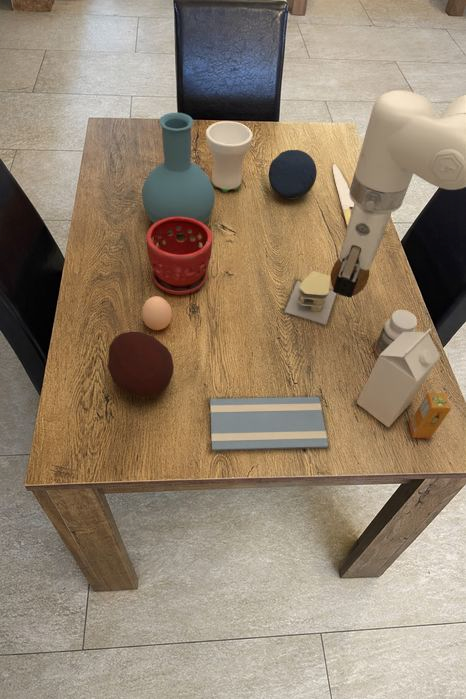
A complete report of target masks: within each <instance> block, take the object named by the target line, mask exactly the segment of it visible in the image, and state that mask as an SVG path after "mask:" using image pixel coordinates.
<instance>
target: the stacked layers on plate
mask: <svg viewBox="0 0 466 699" xmlns="http://www.w3.org/2000/svg"><path fill="white" fill-rule="evenodd" d="M330 286H331V277H330V275H329V274H325V273H322V272H319V271H315V270H312V271H311V272H310V273H309V274H308V275H307V276H306V277H305V278H304V279H303V280H302V281H300V280H297V281H296V283H295V285H294V288H293V290H292V292H291V295H290V298H289V300H288V302H287V305H286V307H285V309H284V313H287V314H290V315H293V316H296V317H299V318H302V319H305V320H309V321H312V322H315V323H319V324H322V325H325V326H326V325H327V323H328V321H329V317H330V314H331V311H332V309H333V305H334V301H335V299H336V296H337V293H335V292H333V290H330Z"/></svg>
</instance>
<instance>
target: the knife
mask: <svg viewBox="0 0 466 699" xmlns="http://www.w3.org/2000/svg"><path fill="white" fill-rule="evenodd" d="M332 172H333V178H334V182H335V186H336V191H337V194H338V198H339V202H340V205H341V209H342V213H343V217H344V220H345V223H346V228H347V227H348V223H349V220H350V216H351V213H352V210H351V208H353V206H354V202H353V201H352V200H351V198H350V195H349V192H350V187H349V186H348V183H347V180H346V179H345V177H344V175H343V173H342V171H341V169H340V168H339V166H338V165H337V164H336V163H333V165H332Z"/></svg>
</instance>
